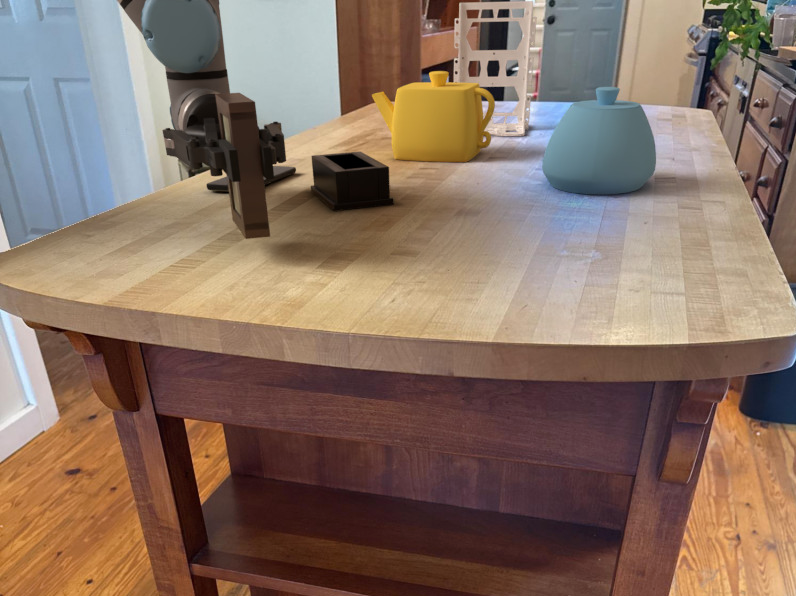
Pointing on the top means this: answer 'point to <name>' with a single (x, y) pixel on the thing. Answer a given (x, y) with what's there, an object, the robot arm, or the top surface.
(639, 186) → the sugar bowl
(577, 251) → the top surface
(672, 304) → the top surface
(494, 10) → the white perforated rack
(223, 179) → the smartphone
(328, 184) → the holder
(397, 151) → the teapot
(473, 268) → the top surface
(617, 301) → the top surface
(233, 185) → the frame
